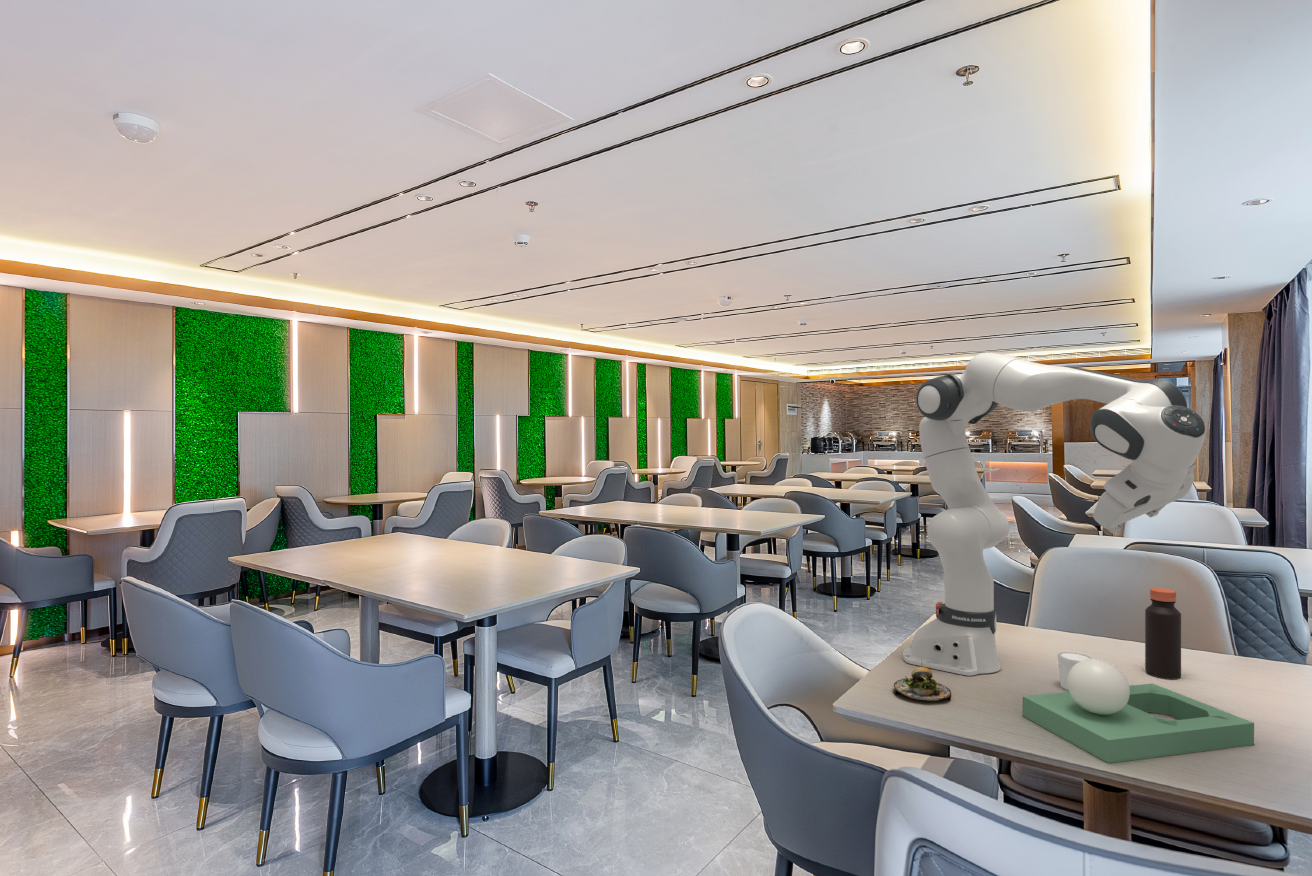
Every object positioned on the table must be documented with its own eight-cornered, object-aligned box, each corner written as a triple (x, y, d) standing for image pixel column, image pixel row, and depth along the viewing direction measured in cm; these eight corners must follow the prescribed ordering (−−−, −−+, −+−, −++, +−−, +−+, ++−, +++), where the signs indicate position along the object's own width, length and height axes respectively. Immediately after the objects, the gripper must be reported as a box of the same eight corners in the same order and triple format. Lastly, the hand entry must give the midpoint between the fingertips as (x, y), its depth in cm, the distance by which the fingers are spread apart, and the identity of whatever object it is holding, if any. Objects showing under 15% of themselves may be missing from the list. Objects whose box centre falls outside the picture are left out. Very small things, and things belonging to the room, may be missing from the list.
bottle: (1185, 675, 158) (1185, 590, 158) (1175, 682, 154) (1175, 595, 154) (1150, 667, 164) (1150, 585, 164) (1140, 673, 160) (1140, 589, 159)
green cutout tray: (1108, 763, 117) (1108, 740, 116) (1022, 715, 136) (1022, 696, 136) (1254, 744, 123) (1254, 722, 123) (1152, 702, 143) (1152, 683, 143)
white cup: (1081, 695, 146) (1081, 663, 146) (1050, 685, 153) (1050, 654, 152) (1100, 690, 150) (1100, 658, 150) (1069, 680, 156) (1069, 650, 156)
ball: (1068, 717, 126) (1068, 664, 126) (1065, 698, 135) (1065, 648, 135) (1133, 728, 121) (1133, 672, 121) (1125, 708, 130) (1125, 656, 130)
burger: (885, 697, 147) (885, 663, 147) (904, 681, 156) (904, 649, 156) (942, 711, 139) (942, 675, 139) (958, 694, 148) (958, 660, 148)
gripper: (1183, 449, 135) (1159, 494, 145) (1097, 485, 132) (1079, 528, 142) (1212, 469, 131) (1186, 515, 140) (1124, 507, 128) (1103, 550, 137)
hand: (1131, 522), depth 141 cm, fingers open, 8 cm apart
